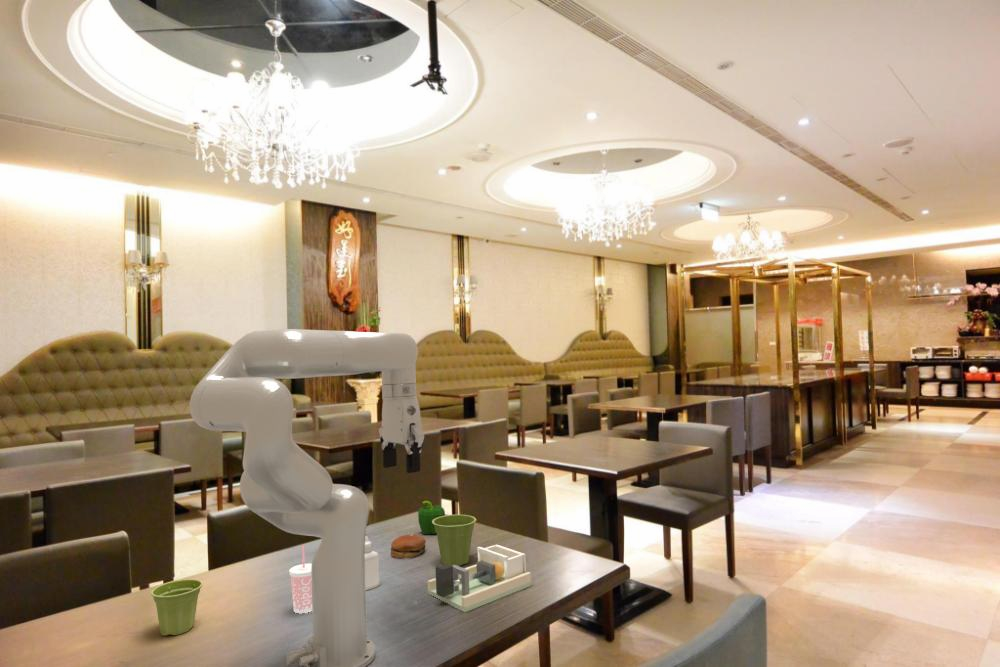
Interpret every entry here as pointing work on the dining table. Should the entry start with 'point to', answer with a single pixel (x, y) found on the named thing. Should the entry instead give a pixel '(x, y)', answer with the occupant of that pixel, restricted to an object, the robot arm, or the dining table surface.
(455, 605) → the pitch
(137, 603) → the dining table surface
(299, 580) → the beverage cup
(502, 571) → the ball
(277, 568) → the dining table surface
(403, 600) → the dining table surface
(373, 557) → the eye dropper bottle
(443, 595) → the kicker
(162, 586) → the plant pot
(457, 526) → the plant pot
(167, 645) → the dining table surface
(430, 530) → the bell pepper
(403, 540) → the burger
